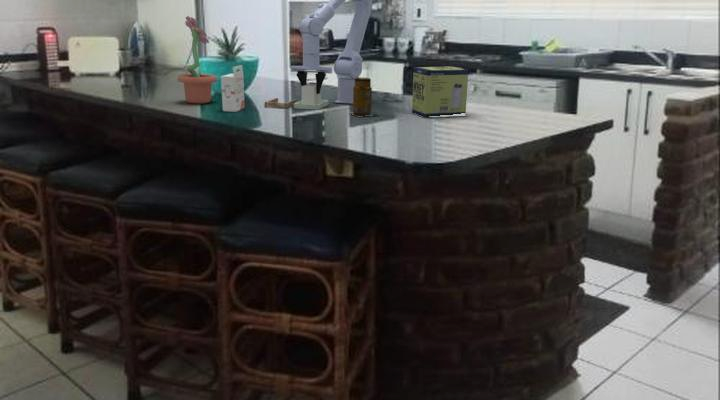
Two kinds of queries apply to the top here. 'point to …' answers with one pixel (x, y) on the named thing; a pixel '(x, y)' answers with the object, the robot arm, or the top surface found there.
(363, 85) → the condiment
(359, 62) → the robot arm
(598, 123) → the top surface
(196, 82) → the decorative flower
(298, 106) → the tray
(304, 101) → the light grey square block
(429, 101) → the protein box
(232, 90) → the ink cartridge box
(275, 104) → the caddy bay
